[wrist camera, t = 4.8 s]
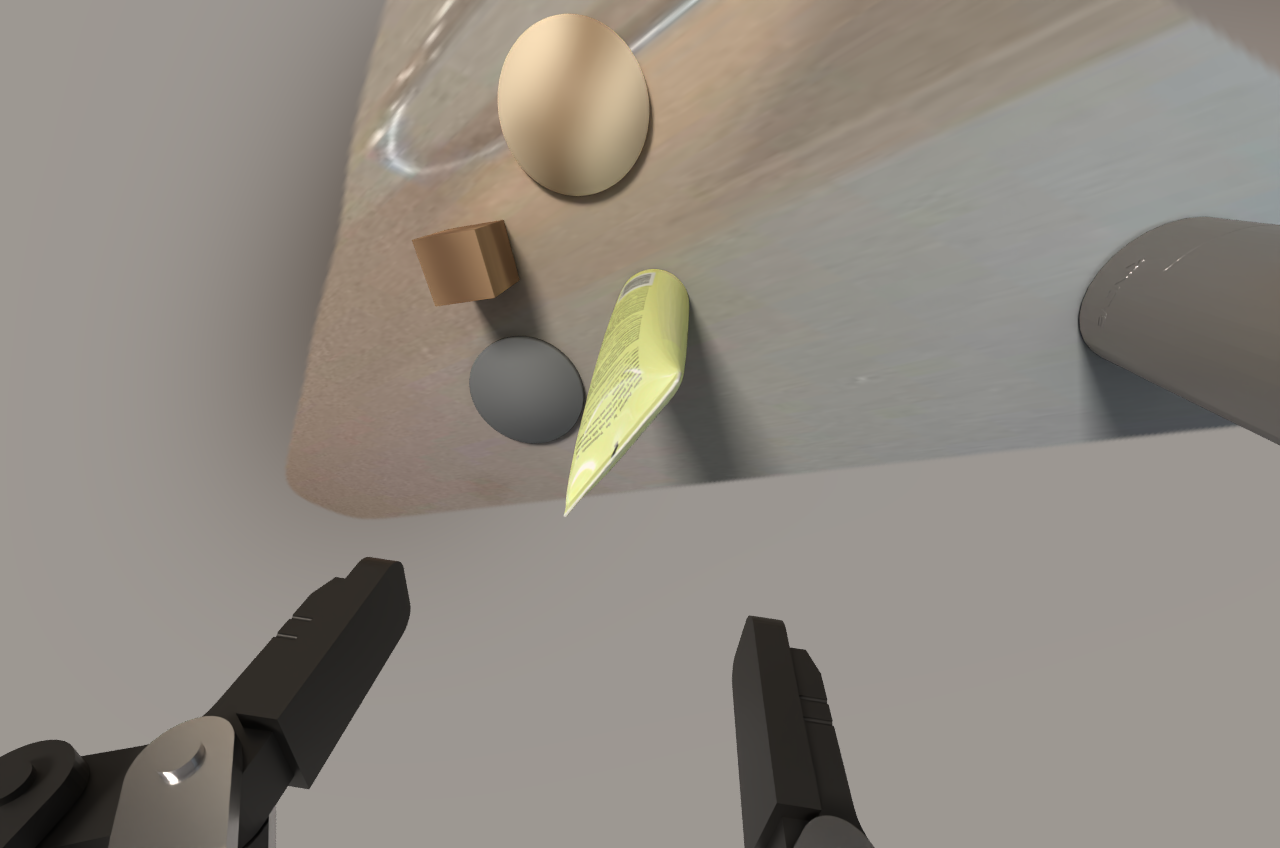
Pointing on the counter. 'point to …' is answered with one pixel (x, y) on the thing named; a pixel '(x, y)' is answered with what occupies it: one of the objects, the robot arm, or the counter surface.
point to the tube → (631, 375)
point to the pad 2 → (526, 389)
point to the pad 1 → (573, 105)
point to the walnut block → (467, 263)
